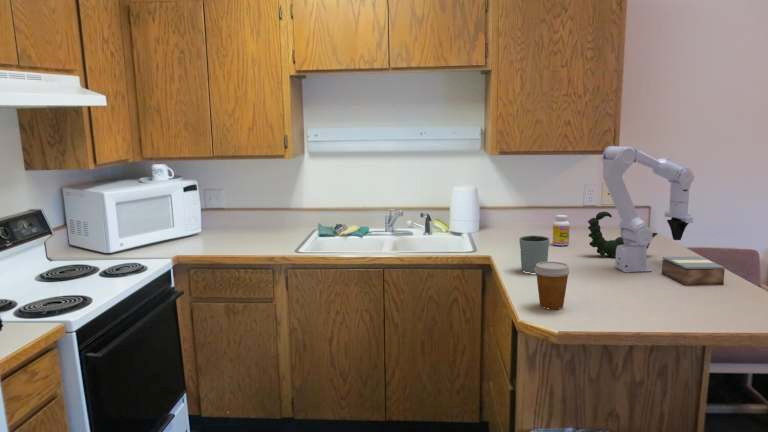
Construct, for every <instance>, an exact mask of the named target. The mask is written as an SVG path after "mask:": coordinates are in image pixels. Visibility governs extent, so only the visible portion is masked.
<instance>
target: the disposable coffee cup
mask: <svg viewBox="0 0 768 432" xmlns="http://www.w3.org/2000/svg"><path fill="white" fill-rule="evenodd" d="M535 272H536V282H537V283H536V284H537V291H538V299H539V300H538V301H539V306H540V305H541V306H542V307H545V308H549V309H558V310H560V309H559V308H562V307H563V308H564V303H565V299H566V298H565V297H566V292H567V286H568V285H567V284H568V278H569V274H570V272H571V269H570V267H569V265H568V264H567V263H564V262H560V261H547V262H540V263H537V264H536V268H535ZM542 307H541V308H542ZM563 308H562V309H563ZM549 309H548V310H549Z"/></svg>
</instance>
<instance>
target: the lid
mask: <svg viewBox="0 0 768 432" xmlns="http://www.w3.org/2000/svg"><path fill="white" fill-rule="evenodd" d="M662 260H667V261H669V262H672V263H674V264H676V265H678V266H680V267H683V268H685V269H725V266H724V265H722V264H721V265H720V264H718V263H716V262H714V261H711V260H709V259H706V258H703V257H700V256H662Z"/></svg>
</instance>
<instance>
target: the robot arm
mask: <svg viewBox="0 0 768 432" xmlns="http://www.w3.org/2000/svg"><path fill="white" fill-rule="evenodd" d="M600 158H601V161H602V178H603V180H604V182H605V185H606V187H607V190H608V192H609V194H610V197H611V199H612V202H613V204H614V206H615V209H616V211H617V213H618V215H619V218H620V221H621V222H619V224H618V227H619V229H620V230H619V231H620V232H619V234H620V237H622V239H624V241H623V242H624V244H623V245H618V246H617V248H616V258H615V264H614V267H615V268H616V269H618V270H620V271H621V272H624V273H634V272H635V273H637V272H639V273H640V272H651V271H652V270H651V269H650V268H649V267H647V253H648V249H647V246H648V244H649V243H650V244H651V242H652V240H653V238H652V236H653V235H652V233H653V231H652V230H651V228H649V227H648V226H647V224H646V222H645V221H644V220H643V219H641V217H640V216H639V214H638V213H637V210H636V208H635V206H634V202H633V201H632V199H631V196H630V193H629V191H628V188H627V186H626V184H625V181H624V179H623V176H624V174H625V173H626V172H627V171H628V169H629V168H630V167H631V165H632V164H633V163H637V164H640V165H642V166H645V167H648V168H650V169H652V172H653V174H655V175H657V176H659V177H661V178H663V179H666V180H667V181H668V183H670V191H669V192H670V193H669V210H666V211H664V217H665V218H666V217H667V218H670V219H667V220H666V222H667V224H668V226H669V228H670V232H671V237H672V240H674V241H682V240H681V239H682V237H683V234H684V232H685V229H686V227H687V226H688V225H689V224H691V223H692V224H693V221H694V217H693V216H692V214H691V213H689V199H690V198H689V197H690V189H691V185H692V182H693V181H694V180H695V175H694V173H693V171H692V170H691V169H690V168H689V167H682V166H681V164H680V163H674V162H671V161H670V158H668V157H664V158H659V159H657V158H654V157H653V156H651V155H649V154H647V153H645V152H643V151H641V150H639V149H638V148H636V147H635V148H634V147H632V146H627V145H626V146H618V145H617V146H616V145H609V146H607V147H606V148H605V149H604V151H603V153H602V155H601V157H600ZM650 244H649V245H650ZM648 247H649V246H648Z"/></svg>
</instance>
